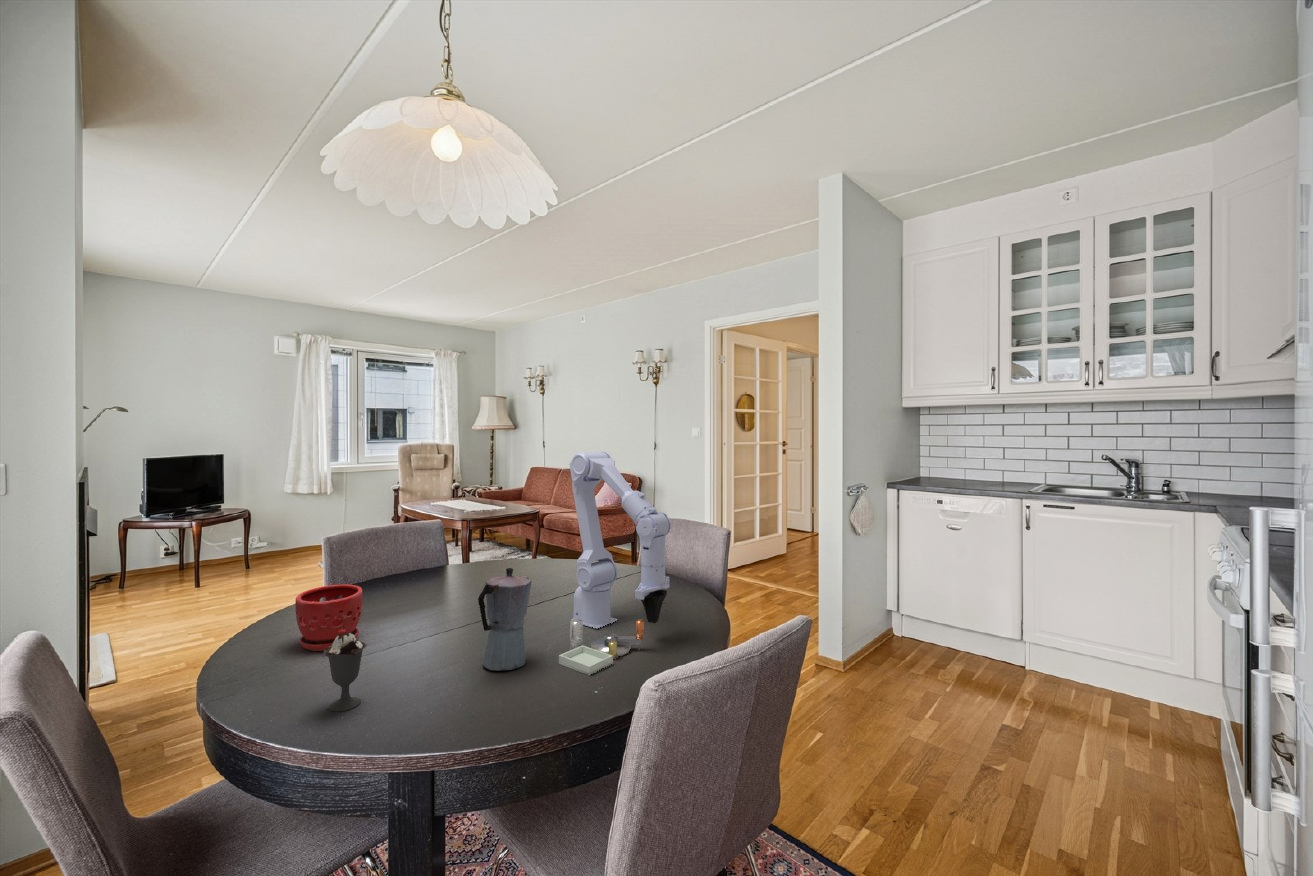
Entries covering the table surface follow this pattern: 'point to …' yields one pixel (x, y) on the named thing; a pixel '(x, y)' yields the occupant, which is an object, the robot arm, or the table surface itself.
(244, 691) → the table surface
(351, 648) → the sundae
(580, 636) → the clear glass cylinder
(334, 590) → the plant pot
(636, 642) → the crank
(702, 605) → the table surface
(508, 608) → the moka pot
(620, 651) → the crank base
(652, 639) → the table surface
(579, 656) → the tray
